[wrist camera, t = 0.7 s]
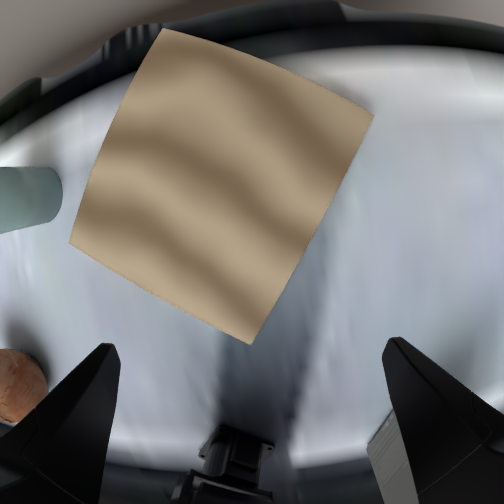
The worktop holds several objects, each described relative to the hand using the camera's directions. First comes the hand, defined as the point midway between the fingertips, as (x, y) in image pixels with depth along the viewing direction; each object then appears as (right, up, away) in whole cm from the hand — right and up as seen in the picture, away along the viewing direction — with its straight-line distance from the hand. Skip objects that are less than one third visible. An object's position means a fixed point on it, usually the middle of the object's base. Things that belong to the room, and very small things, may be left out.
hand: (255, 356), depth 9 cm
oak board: (-4, +9, +14) cm, 17 cm away
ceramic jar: (-20, +9, +16) cm, 27 cm away
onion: (-28, -12, +21) cm, 37 cm away
